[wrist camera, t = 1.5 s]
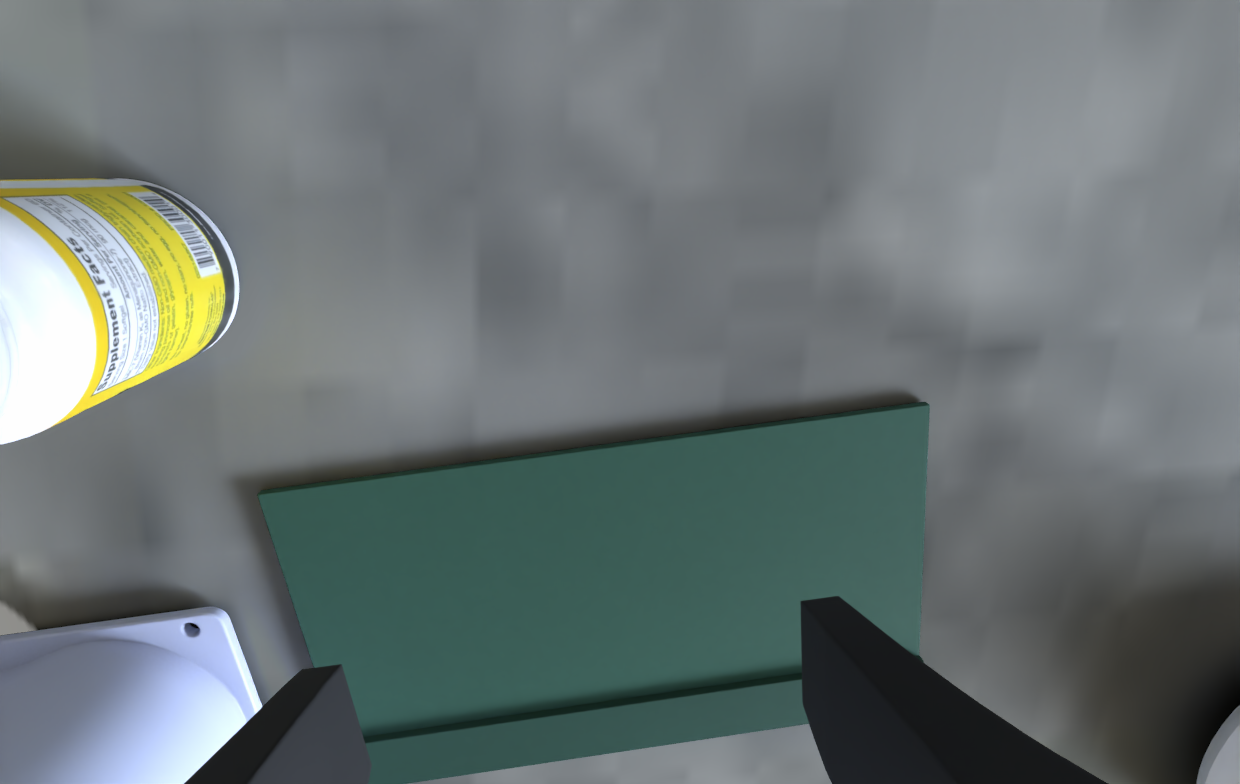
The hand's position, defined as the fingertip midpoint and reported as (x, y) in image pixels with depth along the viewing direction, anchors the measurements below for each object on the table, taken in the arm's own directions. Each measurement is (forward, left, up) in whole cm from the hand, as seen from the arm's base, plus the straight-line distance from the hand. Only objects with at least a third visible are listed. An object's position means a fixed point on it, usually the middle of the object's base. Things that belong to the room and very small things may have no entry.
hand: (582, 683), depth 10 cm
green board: (+1, -6, -10) cm, 11 cm away
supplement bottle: (-10, +6, -10) cm, 16 cm away
